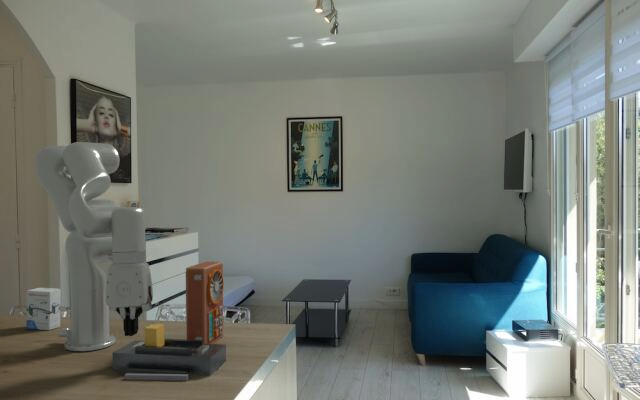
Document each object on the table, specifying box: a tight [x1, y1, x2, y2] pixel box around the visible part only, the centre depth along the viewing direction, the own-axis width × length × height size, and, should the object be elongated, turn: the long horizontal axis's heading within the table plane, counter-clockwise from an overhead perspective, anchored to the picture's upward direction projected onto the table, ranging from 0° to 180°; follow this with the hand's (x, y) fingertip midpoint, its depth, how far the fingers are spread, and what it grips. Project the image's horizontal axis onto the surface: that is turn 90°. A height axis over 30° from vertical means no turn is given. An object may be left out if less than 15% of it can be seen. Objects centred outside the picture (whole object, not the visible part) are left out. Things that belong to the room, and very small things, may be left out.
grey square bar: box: [124, 373, 189, 382], centre depth 112 cm, size 14×1×1 cm, turn 87°
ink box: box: [25, 287, 62, 331], centre depth 155 cm, size 9×5×12 cm, turn 77°
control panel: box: [184, 260, 224, 344], centre depth 139 cm, size 21×7×15 cm
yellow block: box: [144, 323, 165, 347], centre depth 122 cm, size 3×4×5 cm
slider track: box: [112, 337, 227, 376], centre depth 121 cm, size 24×10×5 cm, turn 81°
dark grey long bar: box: [117, 367, 187, 376], centre depth 114 cm, size 16×1×1 cm, turn 81°
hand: (131, 334), depth 122 cm, fingers closed
